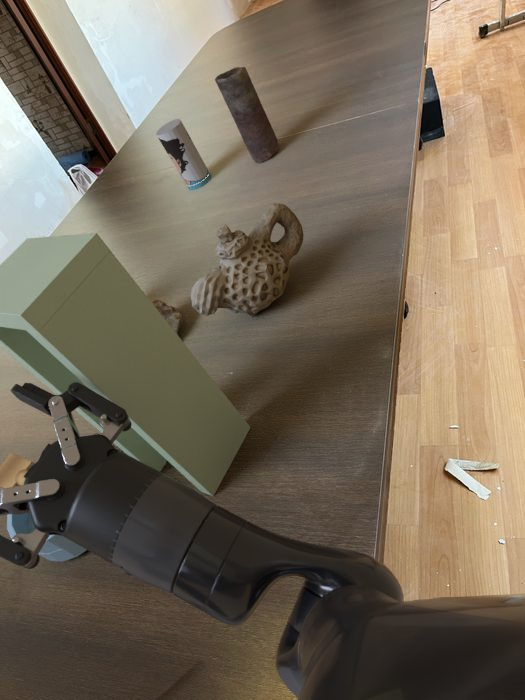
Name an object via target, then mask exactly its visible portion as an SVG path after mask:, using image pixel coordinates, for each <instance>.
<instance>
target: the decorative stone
mask: <svg viewBox="0 0 525 700" xmlns="http://www.w3.org/2000/svg"><path fill="white" fill-rule="evenodd" d="M151 302H152V303H153V305H154V306H155V307H156V309H157V310H158V311H159V312H160V314H161V315H162V316H163V317H164V319H165V320H166V321H167V322H168V324H169V325H170V326H171V327H172V329H173V330H174V331H175V333H176V334H177V335H178V331H179V329H180V325H181V321H182V314H181V312H180V311H178V309H176V307H174V306H172V305H168V304H167V303H165V302H164V301H162V300H161V299H154V300H152V301H151Z"/></svg>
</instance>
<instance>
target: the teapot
mask: <svg viewBox="0 0 525 700" xmlns="http://www.w3.org/2000/svg"><path fill="white" fill-rule="evenodd" d="M260 216H261V217H260V218H259V220H258V221H257V223H256V225H255V226H254V228H253V229H252V230H251V231H250V233H249V234H248V235H247V234H246V233H245V232H244V231H242V230H241V229H236V230H234V231H233V232H232V231H231V229H230V227H229V226H228V225H227V224H222V226H221V227H219V228H218V229H217V230H216V237H217V238H218V239H219V241H218V243H217V246H216V249H215V254H216V257H218V258H219V259H220V260H219V263H218V265H217V266H216V267H214V268H212V269H211V270H209V271H207V272H206V273H205V274H203V275H202V276H200V277H199V278H198V280H196V281H195V283H194V285H193V286H192V287H191V290H190V291H191V292H190V301H191V307H192V308H193V309H195V310H196V311H197V312H198V313H199V315H200V316H201V315H203V316H206V317H208V316H210V315H214V314H215V313H216V312H217V310H218V309H227V310H228V311H229V312H230V313H231V314H237V315H243V316H247V317H251V318H254V317H256V315H257V313H259V312H260V311H264V310H265V309H267V308H269V307H270V305H272V304H273V303H274V302H275V301H276V300H277V299H278V298H280V297H281V296H282V295H283V294H284V292H285V288H286V285H287V281H288V280H289V277H290V270H291V265H290V261H291V260H292V258H294V257H295V256H297V255H298V254H299V252H300V251H301V248H302V245H303V242H304V235H305V234H304V230H303V226H302V223H301V222H300V220H299V219H298V217H297V215H296V214H295V213H294V212H293V211H292V209H291V208H290V207H289V206H288V205H286V204H283V203H278V202H273V203H272V204H271V205H269V206H268V207H267V208H266V209H265V210H264V211H263V213H262V214H261V215H260ZM277 224H279V225H280V226H281V227H282V228H283V231H284V233H283V235H282V236H281V238H280V239H278V240H277V241H272V240H271V238H272V234H273V230H274V227H275V226H276V225H277Z"/></svg>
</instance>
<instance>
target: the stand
mask: <svg viewBox="0 0 525 700" xmlns="http://www.w3.org/2000/svg"><path fill="white" fill-rule="evenodd" d="M0 348H1V349H2V350H3V351H5V352H6V353H7V354H8V355H9V356H10V357H12V358H13V359H14V360H15V361H16V362H17V363H19V364H20V365H21V366H22V367H23V368H25V369H26V370H27V371H28V372H29V373H30V374H32V375H33V376H34V377H35V378H36V379H37V380H39V381H40V382H41V383H42V384H43V385H45V387H47V388H48V389H49V390H50V391H52V392H53V393H54V395H60V394H63V393H64V392H66V391H67V390H68V387H69V385H70V384H72V383H74V382H78V383H80V384H82V385H84V386H85V387H87V388H89V389H91V390H92V391H94V392H96V393H97V394H99V395H101V396H103V397H104V398H106V399H108V400H109V401H111V402H113V403H115V404H116V405H118V406H120V407H121V408H123V409H125V410H126V412H127V415H128V417H129V419H130V421H131V423H132V425H131V428H130V429H129V430H128V431H122V432H121V433H120V434H119V436H118V437H117V438H116V440H115V441H114V442H113V443H112V444H114V445H115V446H116V447H117V448H119V450H120V451H121V450H122V451H121V452H123V453H125V454H127V455H129V456H131V457H133V458H134V459H136V460H138V461H140V462H142V463H144V464H146V465H148V466H150V467H152V468H154V469H156V470H158V471H160V472H161V471H162V470H163V469H164V467H165V466H166V464H167V462H168V463H169V464H170V465H171V466H173V467H174V468H175V469H176V471H178V472H179V473H180V474H181V475H182V476H183V477H184V478H185V479H186V480H188V482H190V483H191V484H192V485H193V486H194V487H195V488H196V489H198V490H199V491H200V492H201V493H203V494H206V495H208V496H211V497H215V494H216V492H217V491H218V489H219V487H220V486H221V483H222V482H223V480H224V479H225V478H224V477H226V474H227V472H228V471H229V469H230V467H231V465H232V463H233V461H234V460H235V457H236V456H237V454H238V452H239V450H240V448H241V446H242V444H243V443H244V441H245V439H246V437H247V435H248V434H249V431H250V430H251V425H250V424H249V423H248V422H247V421H246V420H245V418H244V417H243V415H242V414H241V413H240V412H239V411H238V410H237V408H236V407H235V406H234V405H233V403H232V401H230V399H229V398H228V397H227V396H226V394H225V393H224V391H222V389H221V388H220V387H219V386H218V384H217V383H216V381H215V380H214V379H213V378H212V377H211V375H210V374H209V373H208V372H207V370H206V369H205V368H204V367H203V365H202V364H201V362H200V361H199V360H198V359H197V357H195V355H194V354H193V353H192V351H191V350H190V349H189V347H188V346H187V345H186V344H185V343H184V341H183V340H182V338H180V336H179V335H178V333H177V334H176V333H175V331H174V330H173V329H172V327H171V326H170V325H169V324H168V322H167V321H166V320H165V319H164V317H163V316H162V315H161V314H160V312H159V311H158V310H157V309H156V307H155V306H154V305H153V303H152V301H151V299H150V298H149V297H148V296H147V295H146V294H145V292H144V291H143V290H142V288H141V287H140V285H138V283H137V282H136V280H135V279H134V278H133V277H132V275H131V274H130V273H129V272H128V271H127V269H126V268H125V267H124V265H123V264H122V263H121V262H120V260H119V259H118V258H117V256H116V255H115V254H114V253H113V252H112V250H111V249H110V248H109V246H108V245H107V244H106V243H105V241H104V240H103V239H102V238H101V236H100V235H99V234H98V233H97V232H91V233H78V234H67V235H64V234H63V235H53V236H41V237H40V236H39V237H28V238H26V239H25V240H24V241H23V242H22V243H21V244H19V246H18V247H17V248H15V250H14V251H13V252H12V253H11V254H9V256H7V257H6V259H4V261H2V262H1V263H0ZM74 411H75V412H77V414H79V415H80V416H81V417H82V418H84V419H85V420H86V421H87V422H88V423H89V424H90V425H91V426H93V427H94V428H95V429H97V430H98V431H99V432H100V434H102V433H103V428H102V427H101V425H100V424H99V418H98V417H97V416H95V415H93V414H92V413H90V412H88V411H87V410H85V409H83V408H82V407H80V406H79V407H78V408H76V409H75V410H74Z"/></svg>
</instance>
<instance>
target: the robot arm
mask: <svg viewBox="0 0 525 700" xmlns="http://www.w3.org/2000/svg"><path fill="white" fill-rule="evenodd" d="M9 391H10V392H11V393H12V394H13V396H15V398H16V399H17V400H19V401H21V402H22V403H24V404H26V405H28V406H30V407H32V408H34V409H36V410H38V411H39V412H42V413H44V414H45V415H47V416H49V417H51V418H52V424H53V428H54V430H55V434H56V437H57V440H55V441H54V442H52V443H48V444H47V445H46V446H45V448H44V449H43V450H42V451H41V454H40V456H39V458H38V460H37V461H36V462H34V463H35V464H34V465H33V466H32V467H31V468H30V469H29V470H28V471H27V473H26V474H25V475H24V478H25V481H24V485H21V486H15V487H9V488H1V489H0V517H2V516H3V517H4V516H7V515H8V514H24V513H29V512H30V514H31V518H32V521H33V524H34V526H35V528H36V529H35V530H34V531H33V532H31V533H29V534H24V533H18V534H16V535H15V536H14V537H13V538H12V539H10V538H8V537H5V536H4V535H1V534H0V558H1V559H4V560H5V561H8V562H10V563H12V564H14V565H15V566H19V567H22V568H25V569H28V570H32V569H35V568H36V567H37V566H38V565H39V563H40V559H41V558H40V557H41V556H40V555H38V553H39V552H40V550H41V549H42V547H43V545H44V544H45V542H46V540H47V539H48V537H49V536H50V535H61V536H64V537H65V538H67V539H69V540H71V541H72V542H74V543H76V544H78V545H79V546H81V547H83V548H85V549H86V551H88V552H90V553H91V554H93V555H95V556H97V557H99V558H101V559H103V560H104V561H106V562H108V563H109V564H111V565H113V566H114V567H116V568H118V569H119V570H121V572H122V573H124V574H126V575H128V576H132V577H134V578H136V579H137V580H138V581H140V582H142V583H145V584H148V585H150V586H152V587H154V588H155V587H156V588H158V589H161V590H163V591H165V592H167V593H169V594H172V595H173V596H174V597H177V598H179V599H180V600H182V601H184V602H185V603H187V604H189V605H191V606H192V607H194V608H196V609H198V610H200V611H201V612H204V613H205V614H206V615H208V616H210V617H211V618H213V619H215V620H217V621H219V622H221V623H223V624H226V625H229V626H231V627H237V626H241V625H243V624H245V623H246V622H247V621H248V620H249V619H250V617H251V616H252V615H253V613H254V612H255V611H256V610H257V608H258V607H259V605H260V603H261V602H262V601H263V599H264V597H265V596H266V595H267V593H268V592H269V591H270V589H271V588H272V587H273V586H274V585H275V584H276V583H277V582H278V581H281V580H282V579H285V578H287V577H299V578H302V579H304V581H303V585H302V586H301V589H300V591H299V594H298V595H297V598H296V601H295V603H294V606H293V608H292V610H291V613H290V615H289V617H288V621H286V624H285V627H284V629H283V631H282V633H281V637H280V639H279V642H278V646H277V651H276V655H275V668H276V672H277V673H278V674H277V675H278V676H279V678H280V679H281V682H282V683H283V684H284V685H285V687H286V688H287V689H288V690H289V691H290V692H291V693H292V694H293V695H294V696H295V697H296V698H297V700H525V592H524V593H507V594H506V593H505V594H489V595H488V594H485V595H482V594H481V595H467V596H466V595H465V596H464V595H463V596H439V597H433V598H422V599H413V600H405V596H404V592H403V589H402V586H401V584H400V582H399V580H398V579H397V576H396V575H395V574H394V573H393V571H391V569H390V568H389V567H388V566H387V565H386V564H384V563H383V562H382V561H380V560H379V559H377V558H375V557H373V556H371V555H368V554H365V553H363V552H358V551H355V550H350V549H344V548H339V547H334V546H327V545H322V544H316V543H312V542H311V543H310V542H307V541H303V540H298V539H294V538H291V537H288V536H284V535H281V534H278V533H275V532H273V531H271V530H267V529H265V528H264V527H261V526H260V525H257V524H255V523H253V522H251V521H249V520H246V519H245V518H243V517H241V516H240V515H237V514H235V513H233V512H231V511H229V510H228V509H226V508H224V507H222V506H219V505H217V504H216V503H214V502H212V501H211V500H209V499H208V498H207V497H206V496H204V495H202V494H201V493H199V492H198V491H196V489H194V488H192V487H190V486H189V485H187V484H185V483H182V482H180V481H179V480H177V479H175V478H173V477H171V476H169V475H167V474H166V473H163V472H160V471H158V470H156V469H154V468H152V467H150V466H148V465H146V464H144V463H142V462H140V461H138V460H136V459H134V458H133V457H131V456H129V455H127V454H126V453H125V452H123V451H121V450H120V449H117V448H116V447H115V446H114V445H113V444H114V443H113V442H114V441H115V440H116V438H117V437H118V436H119V434H120V433H121V432H122V431H128V430H129V429H130V428H131V425H132V423H131V421H130V419H129V417H128V415H127V412H126V410H125V409H123V408H121V407H120V406H118V405H116V404H115V403H113V402H111V401H109V400H108V399H106V398H104V397H103V396H101V395H99V394H97V393H96V392H94V391H92V390H91V389H89V388H87V387H85V386H84V385H82V384H80V383H78V382H74V383H72V384H70V385H69V387H68V390H67V391H66V392H64V393H63V394H60V395H57V394H53V393H51V392H50V391H48V390H46V389H44V388H42V387H40V386H37V385H35V384H34V383H32V382H24V383H23V385H20V384H19V383H15V384H14V385H13V386H12V388H11V389H10V390H9ZM79 406H80V407H82V408H83V409H85V410H87V411H88V412H90V413H92V414H93V415H95V416H97V417H98V418H99V424H100V425H101V427H102V428H103V433H97V434H90V435H83V436H81V433H80V432H79V428H78V427H77V425H76V422H75V419H74V416H73V412H74V411H75V409H76V408H78V407H79Z"/></svg>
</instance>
